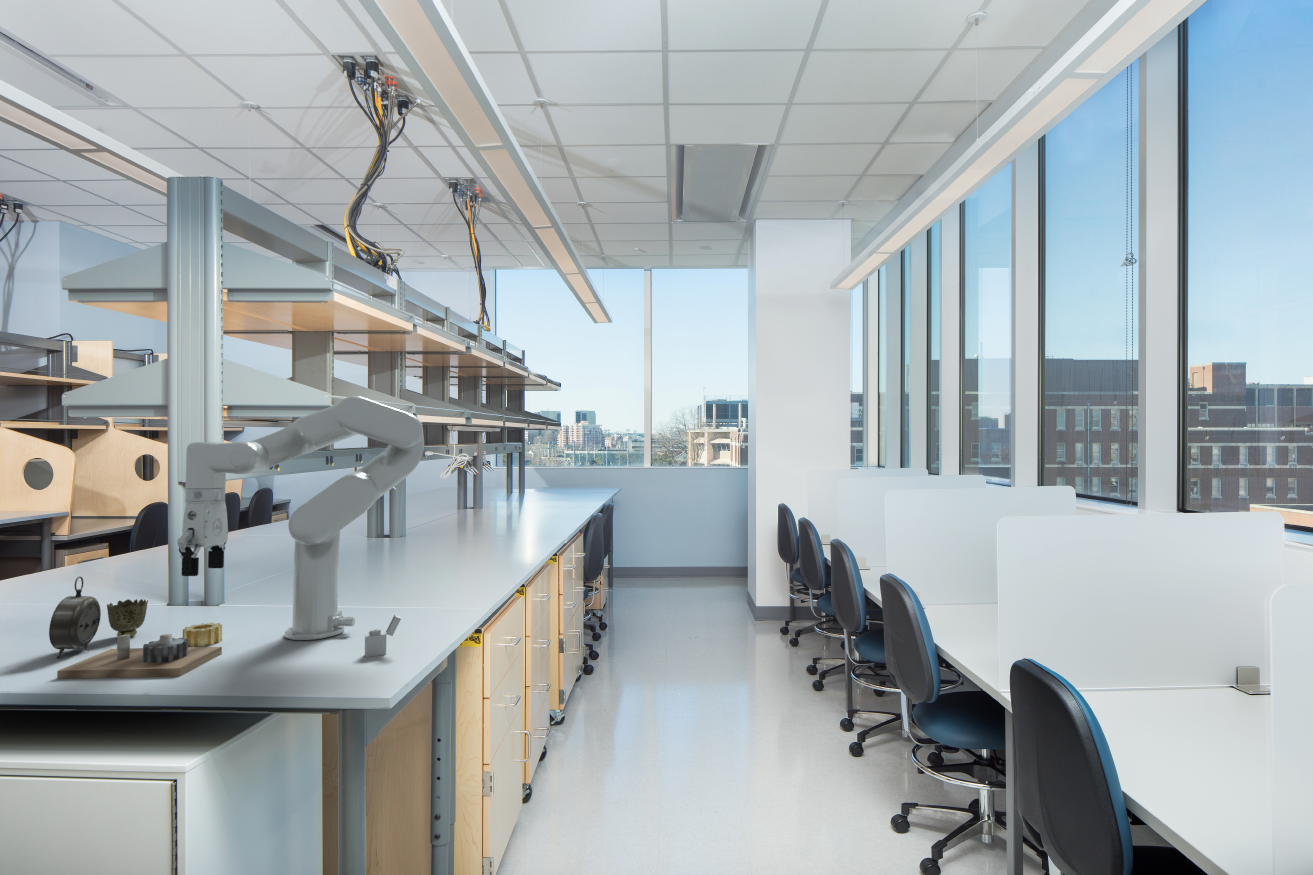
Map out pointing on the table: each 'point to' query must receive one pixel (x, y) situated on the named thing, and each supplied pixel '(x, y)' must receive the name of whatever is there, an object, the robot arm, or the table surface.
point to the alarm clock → (74, 622)
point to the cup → (127, 616)
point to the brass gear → (203, 634)
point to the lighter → (379, 639)
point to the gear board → (142, 660)
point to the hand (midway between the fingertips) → (203, 571)
